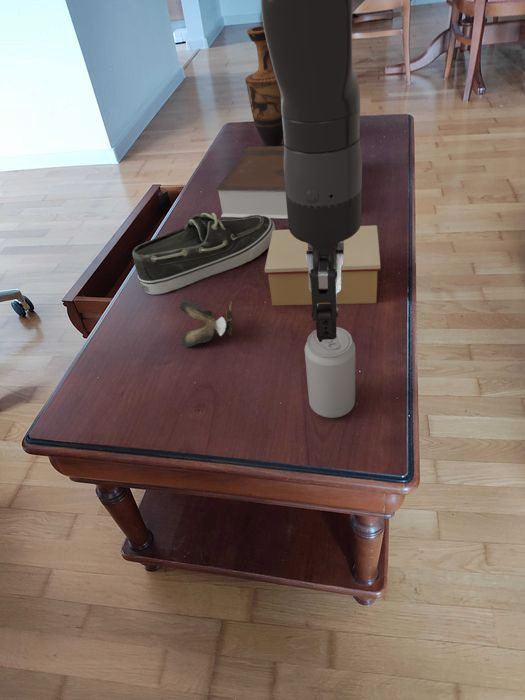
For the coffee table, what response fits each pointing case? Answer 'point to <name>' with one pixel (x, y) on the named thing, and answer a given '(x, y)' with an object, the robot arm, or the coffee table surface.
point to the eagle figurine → (211, 324)
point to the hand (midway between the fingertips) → (327, 314)
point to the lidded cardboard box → (293, 271)
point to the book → (255, 184)
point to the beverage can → (331, 374)
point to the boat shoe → (200, 250)
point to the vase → (265, 93)
